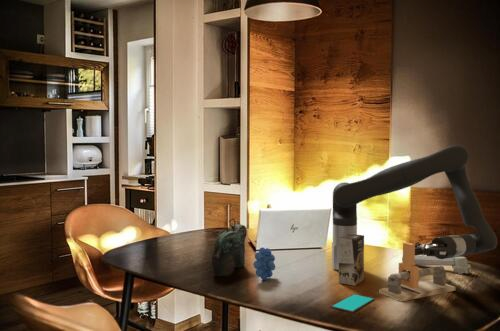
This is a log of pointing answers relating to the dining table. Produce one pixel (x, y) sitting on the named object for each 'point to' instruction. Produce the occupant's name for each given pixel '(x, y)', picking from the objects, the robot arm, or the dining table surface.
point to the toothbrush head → (445, 263)
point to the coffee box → (351, 259)
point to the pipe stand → (424, 287)
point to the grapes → (264, 263)
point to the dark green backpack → (229, 248)
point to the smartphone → (352, 303)
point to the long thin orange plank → (409, 266)
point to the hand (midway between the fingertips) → (411, 252)
